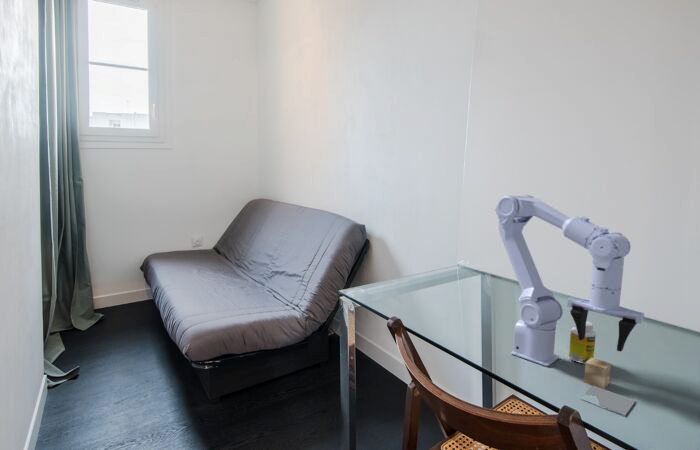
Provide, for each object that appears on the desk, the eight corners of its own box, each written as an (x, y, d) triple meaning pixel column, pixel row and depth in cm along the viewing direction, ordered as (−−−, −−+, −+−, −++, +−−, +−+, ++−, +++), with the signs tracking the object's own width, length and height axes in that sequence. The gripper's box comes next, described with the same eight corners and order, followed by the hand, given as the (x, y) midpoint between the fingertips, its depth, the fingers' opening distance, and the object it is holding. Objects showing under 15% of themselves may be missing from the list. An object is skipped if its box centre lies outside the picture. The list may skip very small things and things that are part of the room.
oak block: (583, 382, 89) (585, 362, 89) (589, 377, 92) (591, 357, 91) (603, 389, 86) (605, 368, 86) (609, 383, 89) (611, 363, 88)
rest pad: (580, 399, 82) (580, 397, 82) (592, 386, 87) (592, 385, 87) (625, 416, 76) (625, 415, 76) (635, 401, 81) (635, 400, 81)
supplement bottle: (586, 367, 97) (590, 328, 95) (564, 358, 101) (567, 321, 100) (597, 362, 100) (600, 324, 99) (575, 353, 104) (578, 317, 103)
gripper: (564, 282, 89) (559, 338, 91) (640, 297, 78) (634, 360, 80) (575, 278, 94) (570, 331, 95) (648, 291, 83) (642, 351, 85)
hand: (600, 344), depth 88 cm, fingers open, 7 cm apart
